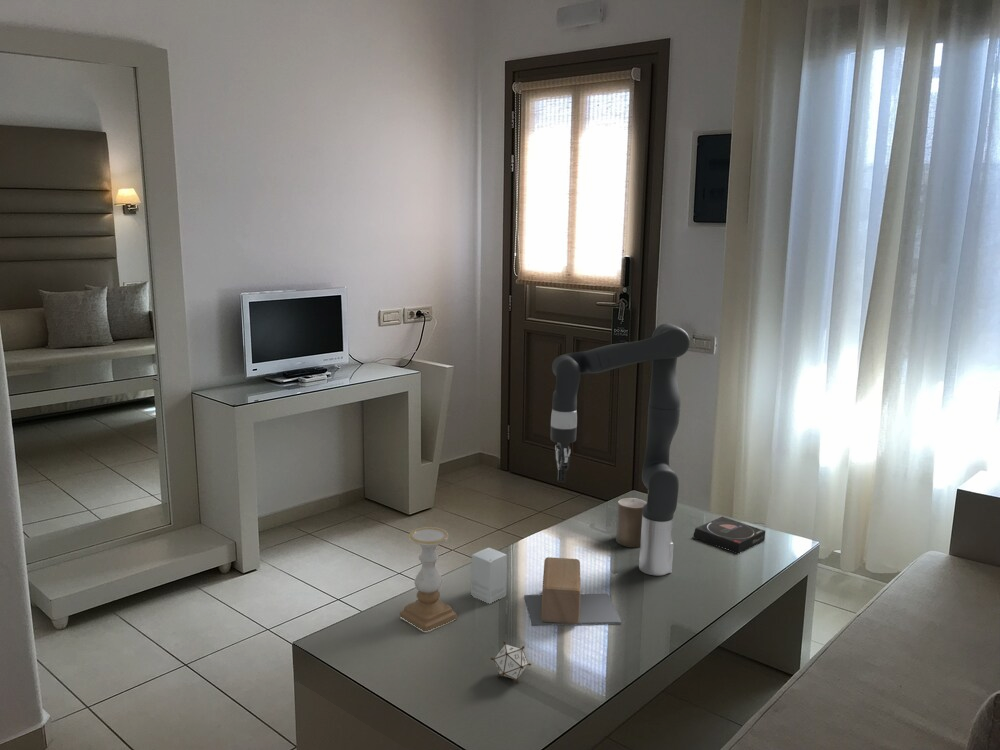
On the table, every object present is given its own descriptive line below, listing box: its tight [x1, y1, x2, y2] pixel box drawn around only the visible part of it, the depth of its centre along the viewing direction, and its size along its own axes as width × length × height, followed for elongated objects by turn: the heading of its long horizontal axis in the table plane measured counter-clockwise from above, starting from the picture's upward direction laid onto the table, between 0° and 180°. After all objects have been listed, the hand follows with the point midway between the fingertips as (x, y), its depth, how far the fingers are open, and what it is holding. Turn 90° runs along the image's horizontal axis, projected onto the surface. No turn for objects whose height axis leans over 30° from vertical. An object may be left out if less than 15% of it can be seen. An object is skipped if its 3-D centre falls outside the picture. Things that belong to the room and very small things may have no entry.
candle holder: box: [399, 526, 457, 631], centre depth 210 cm, size 11×11×24 cm
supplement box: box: [470, 547, 508, 605], centre depth 224 cm, size 7×7×13 cm
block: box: [541, 556, 582, 624], centre depth 219 cm, size 10×10×20 cm
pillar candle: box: [615, 497, 647, 548], centre depth 264 cm, size 10×10×15 cm
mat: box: [523, 592, 623, 627], centre depth 219 cm, size 24×16×1 cm, turn 95°
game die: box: [490, 640, 532, 684], centre depth 186 cm, size 9×8×10 cm
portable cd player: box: [692, 516, 766, 554], centre depth 269 cm, size 16×17×4 cm
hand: (561, 481), depth 235 cm, fingers closed
